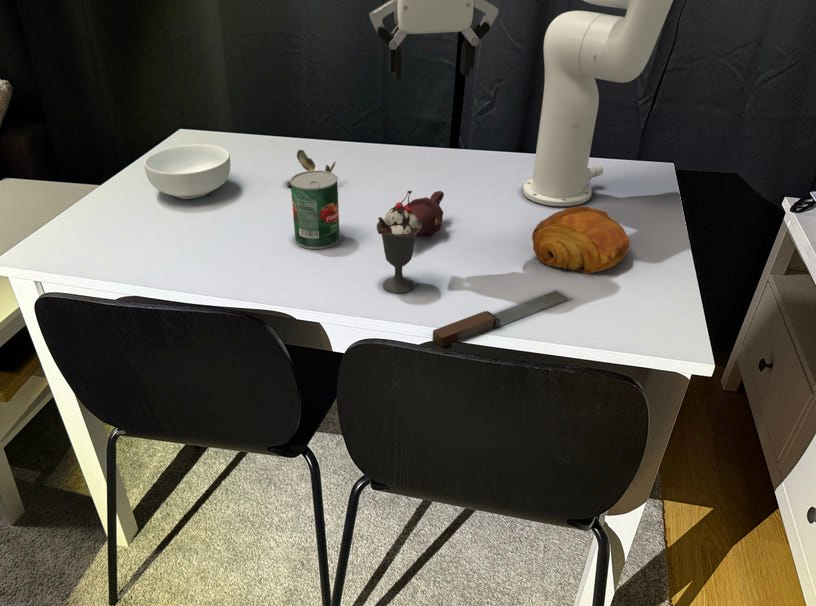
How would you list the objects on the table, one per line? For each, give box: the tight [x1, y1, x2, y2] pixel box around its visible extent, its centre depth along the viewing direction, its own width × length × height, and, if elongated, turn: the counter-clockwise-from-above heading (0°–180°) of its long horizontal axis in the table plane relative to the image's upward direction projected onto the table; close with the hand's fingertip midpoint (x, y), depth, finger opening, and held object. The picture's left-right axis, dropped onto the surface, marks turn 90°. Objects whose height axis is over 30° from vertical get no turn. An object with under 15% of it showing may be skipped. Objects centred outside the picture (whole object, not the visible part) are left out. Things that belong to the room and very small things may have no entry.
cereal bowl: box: [143, 143, 231, 200], centre depth 141 cm, size 17×17×7 cm
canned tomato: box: [289, 169, 341, 250], centre depth 121 cm, size 8×8×11 cm
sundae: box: [376, 190, 422, 294], centre depth 106 cm, size 7×7×15 cm
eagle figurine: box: [286, 149, 336, 187], centre depth 142 cm, size 8×7×9 cm
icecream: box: [403, 190, 445, 239], centre depth 122 cm, size 7×7×15 cm
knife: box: [432, 290, 569, 348], centre depth 101 cm, size 23×3×2 cm, turn 120°
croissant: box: [531, 205, 630, 274], centre depth 114 cm, size 14×16×8 cm
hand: (430, 75), depth 100 cm, fingers open, 9 cm apart
